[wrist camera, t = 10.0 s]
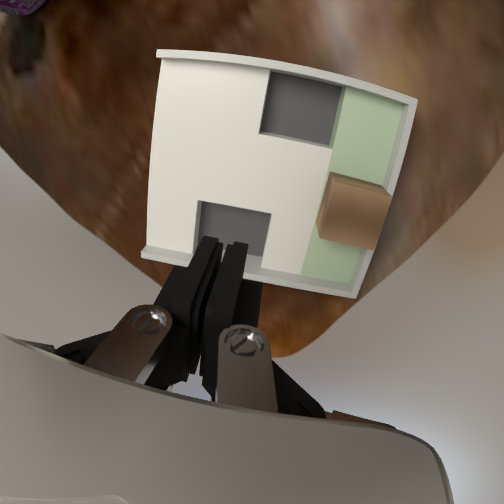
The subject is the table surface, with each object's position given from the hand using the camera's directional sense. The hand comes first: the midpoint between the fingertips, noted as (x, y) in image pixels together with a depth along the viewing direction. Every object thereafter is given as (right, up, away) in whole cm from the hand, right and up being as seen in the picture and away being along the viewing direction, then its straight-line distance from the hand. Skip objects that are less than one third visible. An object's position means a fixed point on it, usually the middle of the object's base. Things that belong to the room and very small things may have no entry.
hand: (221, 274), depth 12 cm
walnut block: (+10, +5, +16) cm, 20 cm away
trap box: (+3, +9, +18) cm, 20 cm away
